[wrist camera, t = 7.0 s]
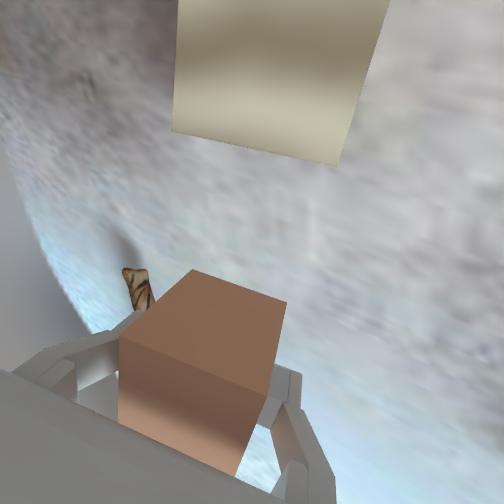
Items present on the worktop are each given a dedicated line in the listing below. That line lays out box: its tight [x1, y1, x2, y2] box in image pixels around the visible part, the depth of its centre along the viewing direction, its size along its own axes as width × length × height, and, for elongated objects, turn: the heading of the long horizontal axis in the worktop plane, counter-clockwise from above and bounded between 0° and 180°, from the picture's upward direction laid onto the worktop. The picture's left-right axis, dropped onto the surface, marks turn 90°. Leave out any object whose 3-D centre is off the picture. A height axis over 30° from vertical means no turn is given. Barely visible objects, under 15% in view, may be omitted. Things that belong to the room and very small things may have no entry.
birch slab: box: [172, 0, 390, 167], centre depth 14 cm, size 10×10×4 cm
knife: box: [122, 268, 155, 312], centre depth 29 cm, size 25×1×5 cm, turn 5°
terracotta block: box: [118, 269, 287, 477], centre depth 11 cm, size 5×5×5 cm
